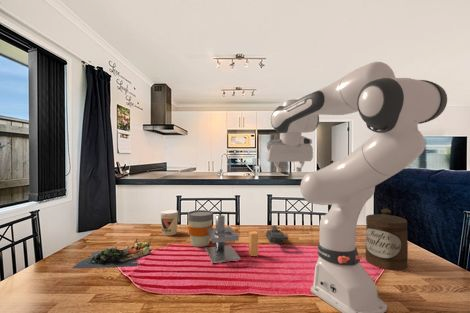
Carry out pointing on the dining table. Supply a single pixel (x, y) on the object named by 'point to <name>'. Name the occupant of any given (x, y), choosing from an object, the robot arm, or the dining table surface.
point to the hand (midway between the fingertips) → (288, 171)
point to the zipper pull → (275, 236)
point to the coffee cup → (169, 222)
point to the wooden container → (386, 240)
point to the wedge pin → (253, 243)
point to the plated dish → (116, 256)
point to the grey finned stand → (222, 242)
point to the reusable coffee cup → (199, 227)
